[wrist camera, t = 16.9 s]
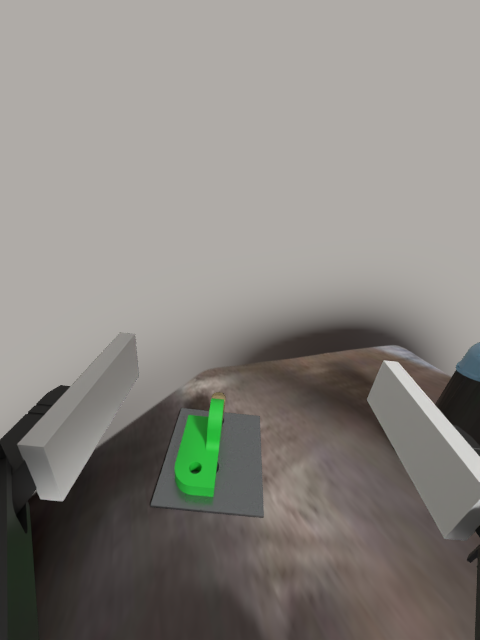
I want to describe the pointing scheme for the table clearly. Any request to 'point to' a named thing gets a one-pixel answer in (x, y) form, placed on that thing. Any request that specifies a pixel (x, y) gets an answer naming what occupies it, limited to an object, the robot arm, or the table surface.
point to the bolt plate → (219, 469)
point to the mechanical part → (200, 452)
